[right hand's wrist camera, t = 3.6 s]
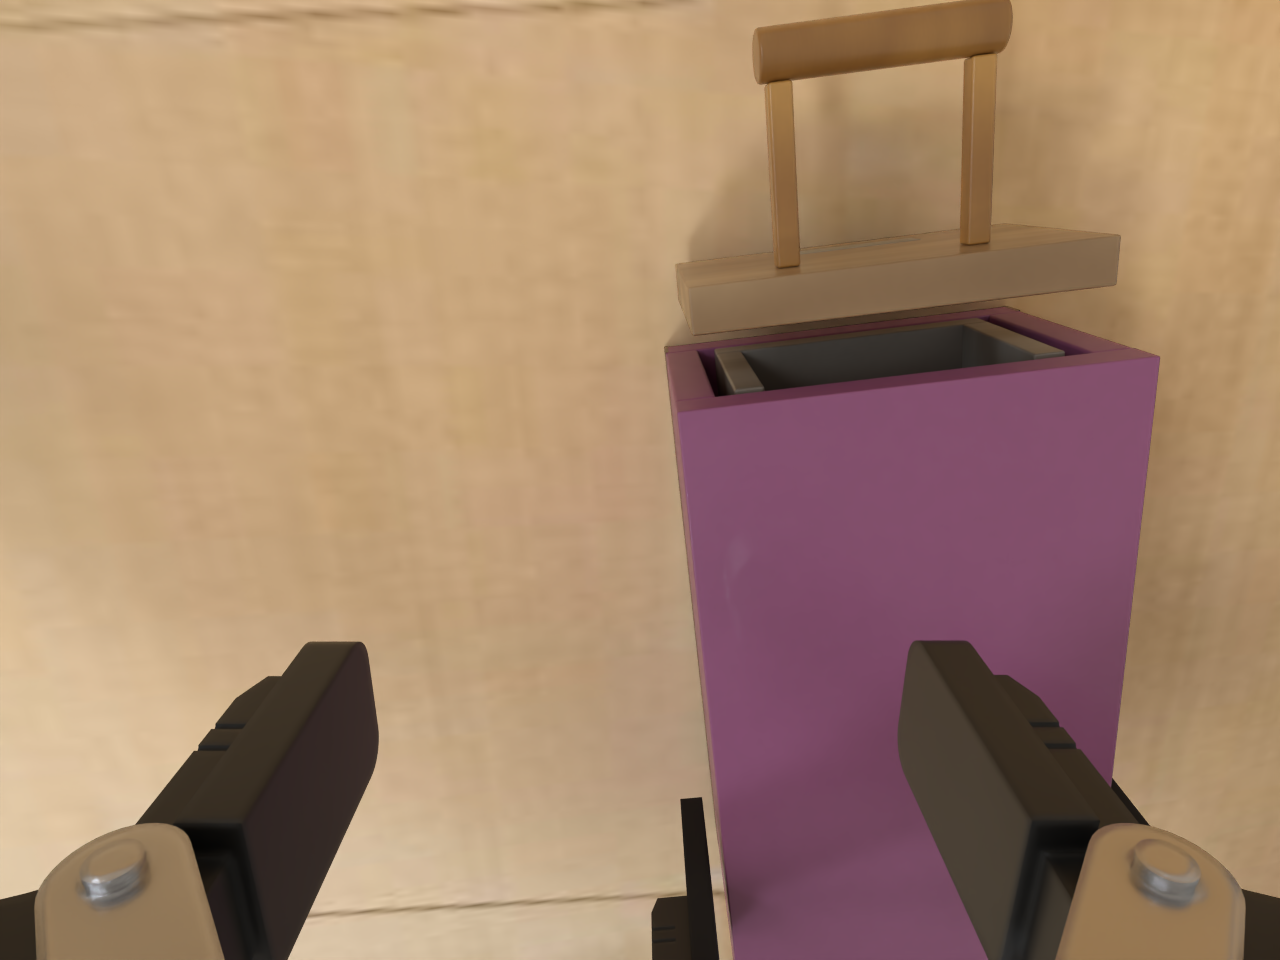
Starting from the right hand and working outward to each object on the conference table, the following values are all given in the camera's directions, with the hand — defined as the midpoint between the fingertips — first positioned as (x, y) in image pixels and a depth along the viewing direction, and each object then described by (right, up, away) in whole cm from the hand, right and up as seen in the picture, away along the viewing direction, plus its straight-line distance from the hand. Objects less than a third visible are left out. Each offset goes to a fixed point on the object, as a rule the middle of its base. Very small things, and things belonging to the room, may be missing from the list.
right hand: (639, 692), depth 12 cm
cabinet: (+8, -1, +19) cm, 20 cm away
